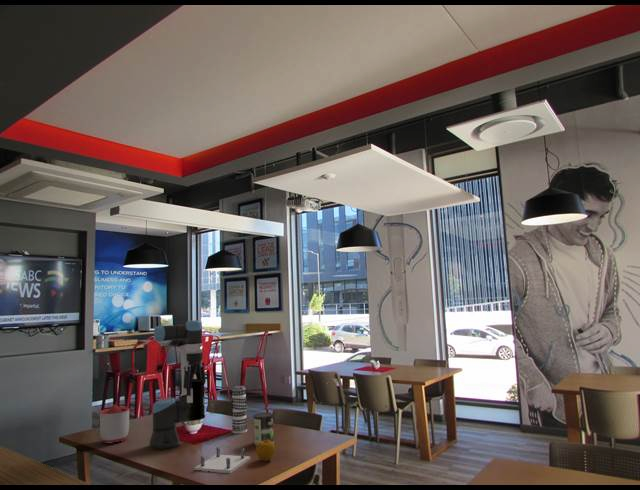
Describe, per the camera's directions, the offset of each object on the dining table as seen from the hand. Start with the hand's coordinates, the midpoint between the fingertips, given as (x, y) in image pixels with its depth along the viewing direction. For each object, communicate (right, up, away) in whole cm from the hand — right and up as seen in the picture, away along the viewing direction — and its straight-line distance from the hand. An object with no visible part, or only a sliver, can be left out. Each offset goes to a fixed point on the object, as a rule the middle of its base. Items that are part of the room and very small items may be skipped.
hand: (195, 400), depth 224 cm
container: (0, -8, -1) cm, 8 cm away
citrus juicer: (-55, -35, +35) cm, 74 cm away
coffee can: (+31, -28, +18) cm, 46 cm away
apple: (+35, -25, -10) cm, 44 cm away
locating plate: (+16, -25, -13) cm, 32 cm away
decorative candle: (+14, -32, +43) cm, 55 cm away
